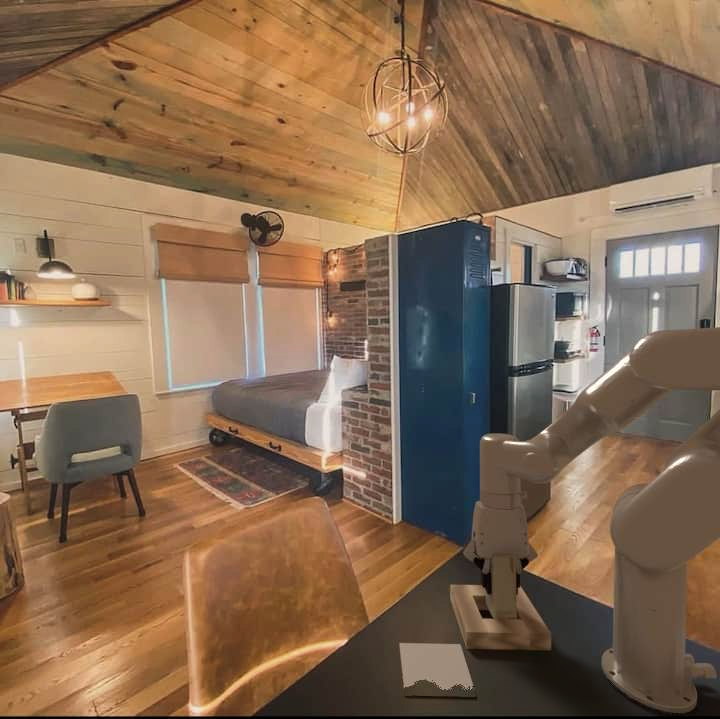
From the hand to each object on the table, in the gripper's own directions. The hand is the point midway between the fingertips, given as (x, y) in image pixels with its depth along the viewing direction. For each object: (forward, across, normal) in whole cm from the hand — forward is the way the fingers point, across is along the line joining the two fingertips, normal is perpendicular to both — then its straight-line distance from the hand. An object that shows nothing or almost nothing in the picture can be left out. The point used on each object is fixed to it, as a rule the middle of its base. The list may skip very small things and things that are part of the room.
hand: (500, 589), depth 80 cm
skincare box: (+5, 0, 0) cm, 5 cm away
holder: (+7, +1, 0) cm, 7 cm away
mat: (+7, +15, +12) cm, 20 cm away
